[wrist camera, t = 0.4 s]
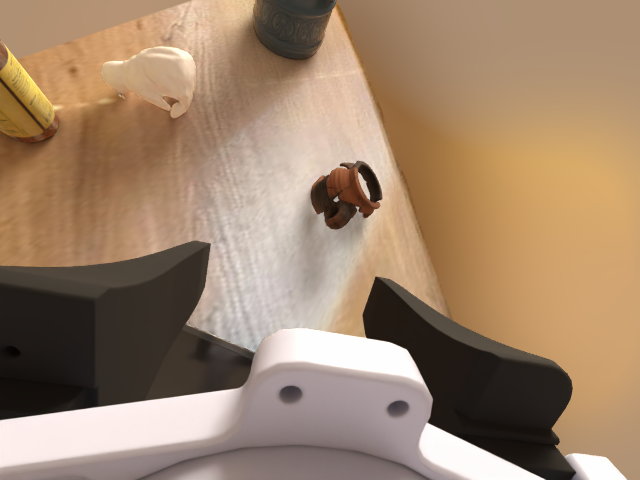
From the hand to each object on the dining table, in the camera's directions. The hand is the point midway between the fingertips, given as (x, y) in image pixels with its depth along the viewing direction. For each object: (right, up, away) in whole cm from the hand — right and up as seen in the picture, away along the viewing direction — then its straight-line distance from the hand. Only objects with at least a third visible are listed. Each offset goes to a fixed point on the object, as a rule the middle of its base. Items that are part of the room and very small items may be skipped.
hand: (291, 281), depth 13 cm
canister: (-5, +40, +43) cm, 59 cm away
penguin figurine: (-23, +22, +31) cm, 45 cm away
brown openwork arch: (+4, +7, +35) cm, 36 cm away
